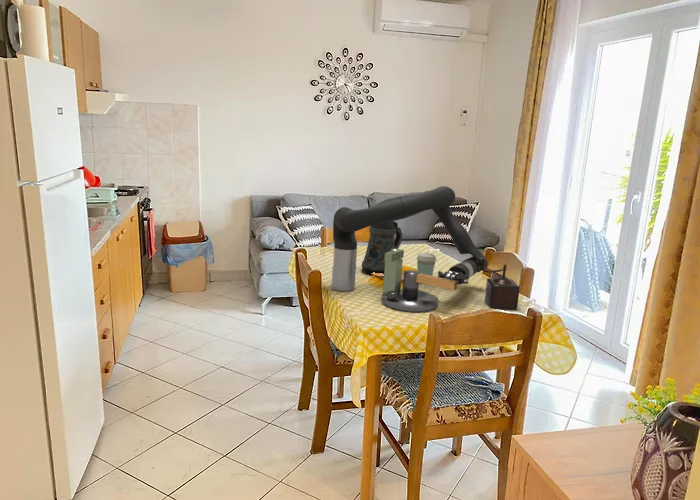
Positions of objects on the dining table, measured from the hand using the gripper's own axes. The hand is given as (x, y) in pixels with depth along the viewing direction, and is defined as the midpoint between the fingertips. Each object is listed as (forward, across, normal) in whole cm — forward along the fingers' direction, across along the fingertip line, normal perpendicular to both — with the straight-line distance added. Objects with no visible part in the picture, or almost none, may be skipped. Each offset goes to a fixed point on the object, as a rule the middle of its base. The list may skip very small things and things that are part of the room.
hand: (444, 282), depth 198 cm
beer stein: (-31, -43, +11) cm, 55 cm away
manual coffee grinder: (-19, +14, +11) cm, 26 cm away
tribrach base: (+1, -13, +11) cm, 17 cm away
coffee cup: (-30, -21, +11) cm, 38 cm away
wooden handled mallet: (+1, -6, +8) cm, 10 cm away
